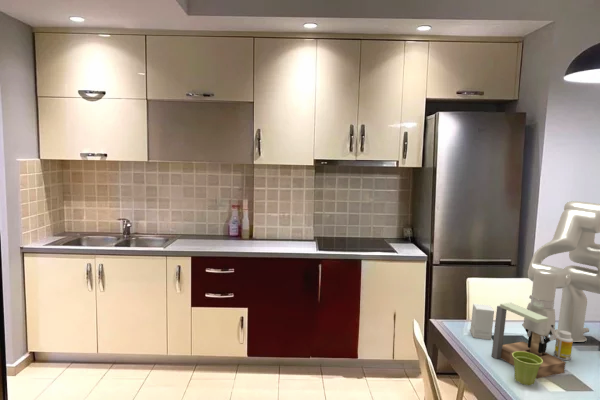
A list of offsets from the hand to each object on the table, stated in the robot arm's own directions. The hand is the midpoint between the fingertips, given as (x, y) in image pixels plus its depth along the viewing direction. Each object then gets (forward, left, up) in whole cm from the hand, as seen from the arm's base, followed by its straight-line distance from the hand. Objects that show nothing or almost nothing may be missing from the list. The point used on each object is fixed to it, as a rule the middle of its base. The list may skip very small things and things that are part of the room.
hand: (536, 349), depth 170 cm
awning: (+9, -1, -5) cm, 11 cm away
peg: (0, 0, -2) cm, 2 cm away
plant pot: (+16, +9, -6) cm, 19 cm away
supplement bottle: (-15, 0, -5) cm, 16 cm away
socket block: (+3, 0, -5) cm, 6 cm away
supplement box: (+1, -26, -6) cm, 27 cm away
